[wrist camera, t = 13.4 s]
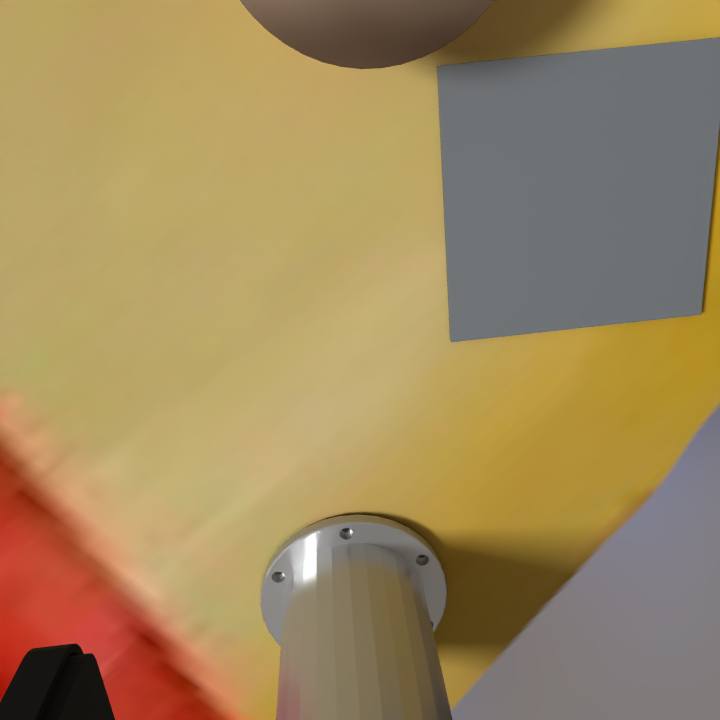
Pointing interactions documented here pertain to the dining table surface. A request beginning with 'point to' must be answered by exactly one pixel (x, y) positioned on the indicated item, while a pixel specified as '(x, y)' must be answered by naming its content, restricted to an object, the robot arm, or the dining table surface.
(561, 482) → the dining table surface
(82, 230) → the dining table surface
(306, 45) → the lid
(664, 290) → the mat
